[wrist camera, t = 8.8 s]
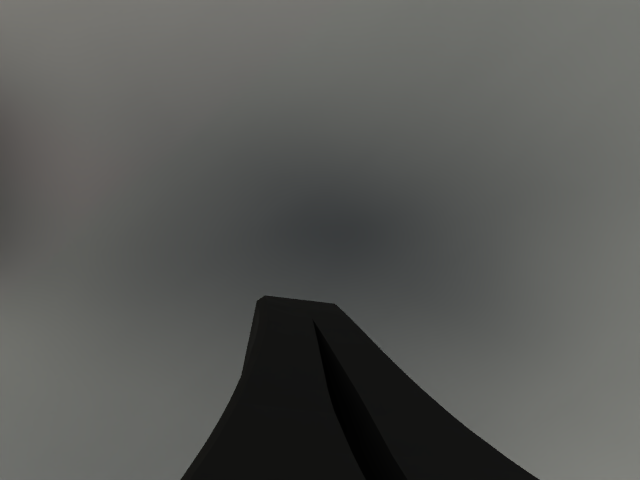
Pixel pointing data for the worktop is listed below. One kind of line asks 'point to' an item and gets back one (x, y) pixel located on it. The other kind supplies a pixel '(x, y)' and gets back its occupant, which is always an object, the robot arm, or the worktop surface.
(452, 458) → the robot arm
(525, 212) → the worktop surface
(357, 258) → the worktop surface
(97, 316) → the worktop surface
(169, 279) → the worktop surface
